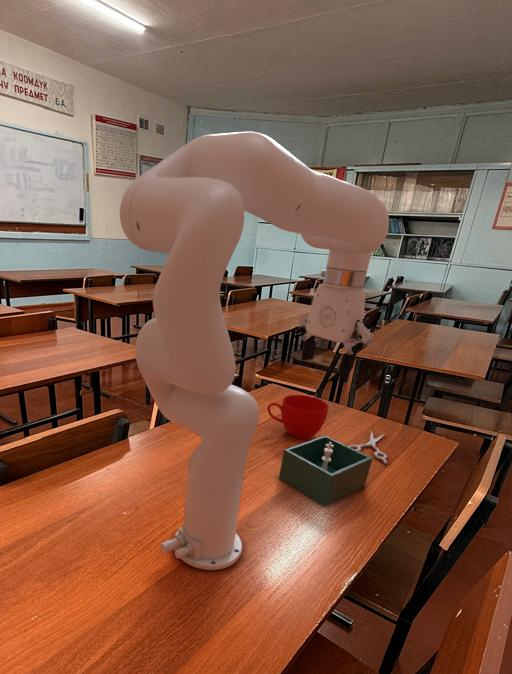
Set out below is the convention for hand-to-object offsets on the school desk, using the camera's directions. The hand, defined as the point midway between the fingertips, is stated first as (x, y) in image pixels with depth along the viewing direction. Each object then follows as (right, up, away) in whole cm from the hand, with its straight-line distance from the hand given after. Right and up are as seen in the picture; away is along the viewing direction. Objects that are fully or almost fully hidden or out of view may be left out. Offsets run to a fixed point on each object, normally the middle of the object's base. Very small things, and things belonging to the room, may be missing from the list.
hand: (325, 365), depth 90 cm
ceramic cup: (+2, -15, +38) cm, 41 cm away
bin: (+3, -26, +14) cm, 30 cm away
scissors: (+24, -18, +35) cm, 46 cm away
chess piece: (+3, -25, +14) cm, 29 cm away
